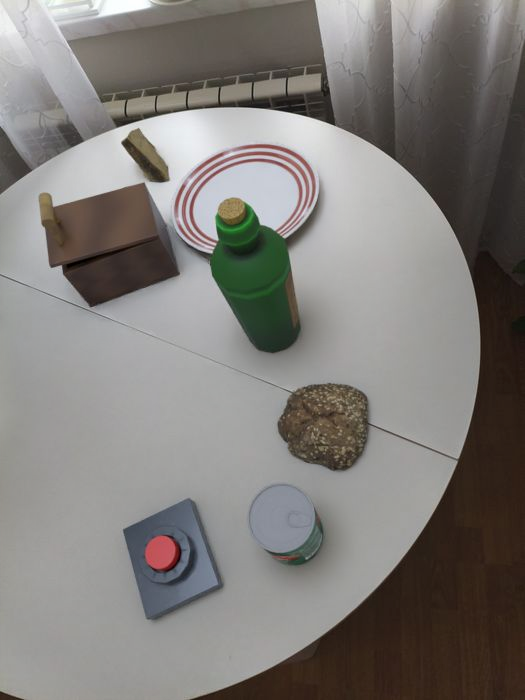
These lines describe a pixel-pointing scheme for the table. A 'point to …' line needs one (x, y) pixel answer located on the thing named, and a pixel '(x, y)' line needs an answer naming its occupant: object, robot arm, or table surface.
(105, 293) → the chest
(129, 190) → the lid
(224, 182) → the dinner plate
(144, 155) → the rock
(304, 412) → the bread roll
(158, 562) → the button
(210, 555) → the button block
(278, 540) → the canned tomato
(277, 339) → the bottle
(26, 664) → the table surface
